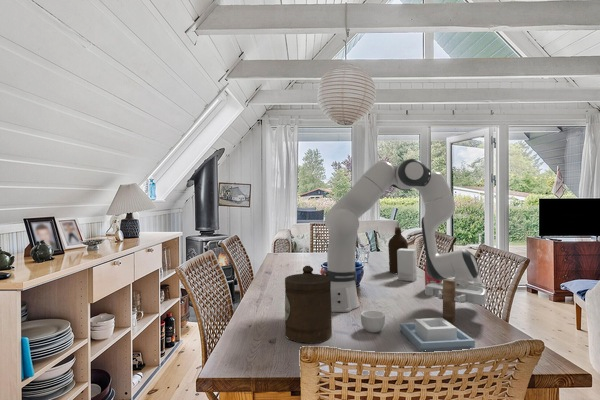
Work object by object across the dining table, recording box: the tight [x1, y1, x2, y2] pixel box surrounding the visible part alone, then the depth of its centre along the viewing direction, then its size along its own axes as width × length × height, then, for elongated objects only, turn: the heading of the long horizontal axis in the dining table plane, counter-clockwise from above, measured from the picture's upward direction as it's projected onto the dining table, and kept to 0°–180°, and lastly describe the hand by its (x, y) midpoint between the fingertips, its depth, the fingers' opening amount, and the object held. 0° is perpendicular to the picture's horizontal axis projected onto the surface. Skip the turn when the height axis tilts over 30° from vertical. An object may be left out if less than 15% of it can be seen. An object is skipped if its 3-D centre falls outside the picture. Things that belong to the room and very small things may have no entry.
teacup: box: [360, 309, 386, 334], centre depth 124 cm, size 10×8×5 cm
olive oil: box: [387, 226, 409, 275], centre depth 209 cm, size 11×11×25 cm
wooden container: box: [284, 265, 333, 344], centre depth 120 cm, size 15×15×22 cm
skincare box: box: [397, 248, 418, 282], centre depth 191 cm, size 8×7×16 cm
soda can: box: [424, 263, 443, 287], centre depth 171 cm, size 7×7×13 cm
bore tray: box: [399, 317, 476, 352], centre depth 115 cm, size 16×16×5 cm
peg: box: [442, 278, 456, 324], centre depth 128 cm, size 4×4×14 cm
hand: (448, 298), depth 127 cm, fingers closed on peg, 4 cm apart
